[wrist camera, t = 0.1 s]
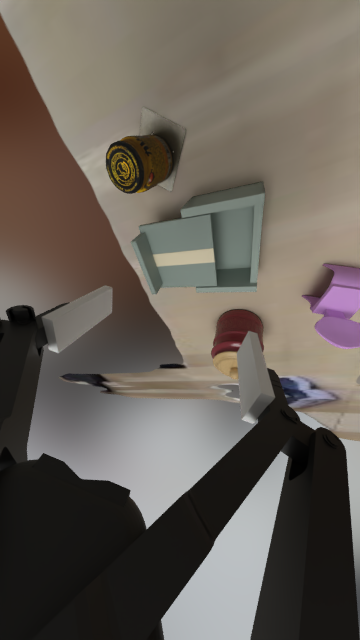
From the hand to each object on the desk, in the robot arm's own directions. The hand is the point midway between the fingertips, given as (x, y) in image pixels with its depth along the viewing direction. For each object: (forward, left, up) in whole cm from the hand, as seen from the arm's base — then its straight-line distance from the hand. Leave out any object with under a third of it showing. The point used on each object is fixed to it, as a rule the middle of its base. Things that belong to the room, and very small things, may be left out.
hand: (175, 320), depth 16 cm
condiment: (+4, -14, -28) cm, 32 cm away
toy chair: (-14, +23, -28) cm, 39 cm away
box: (0, +4, -28) cm, 28 cm away
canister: (+8, +29, -28) cm, 41 cm away
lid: (+7, +1, -21) cm, 22 cm away
